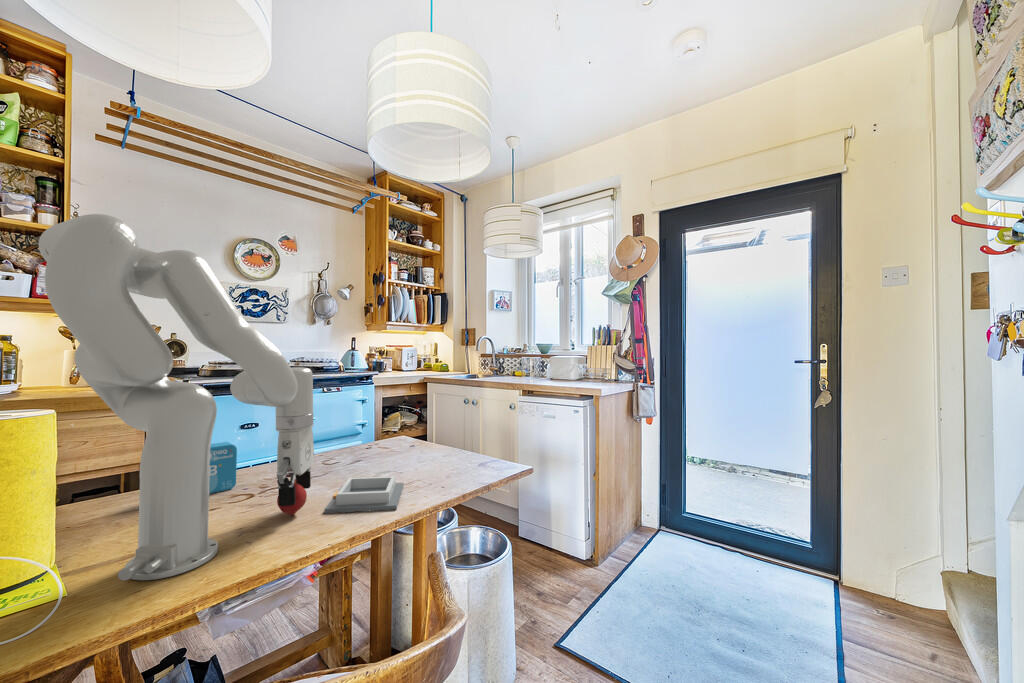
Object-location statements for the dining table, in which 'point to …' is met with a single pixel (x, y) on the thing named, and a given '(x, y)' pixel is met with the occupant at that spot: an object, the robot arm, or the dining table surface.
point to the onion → (299, 500)
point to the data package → (222, 467)
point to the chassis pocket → (366, 495)
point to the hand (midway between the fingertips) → (295, 496)
